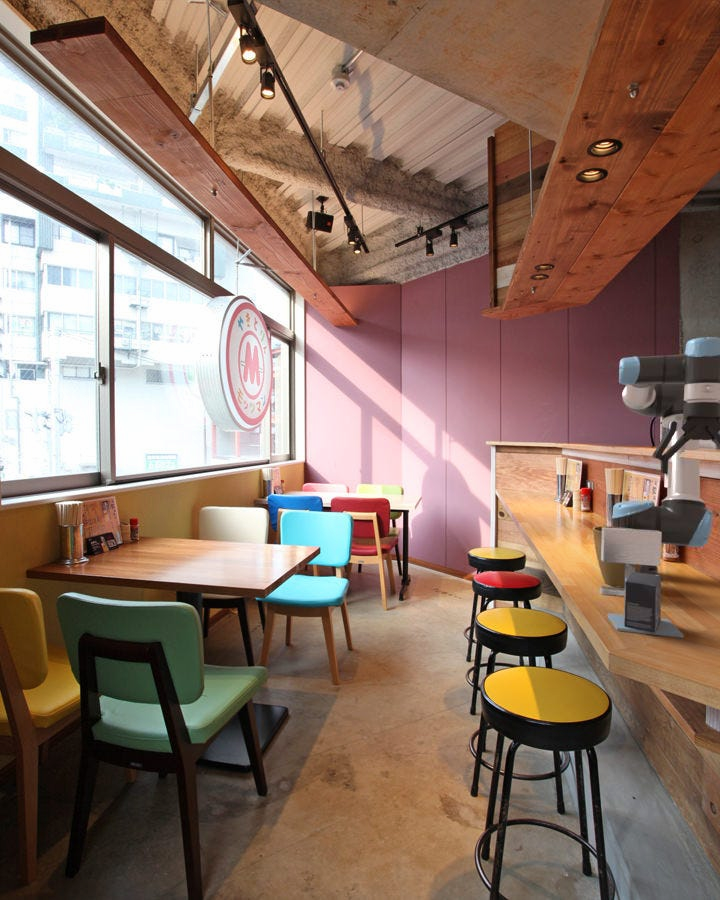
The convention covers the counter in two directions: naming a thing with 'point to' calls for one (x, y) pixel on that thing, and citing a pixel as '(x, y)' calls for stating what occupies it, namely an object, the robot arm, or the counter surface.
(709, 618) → the counter surface
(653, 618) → the small box
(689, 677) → the counter surface
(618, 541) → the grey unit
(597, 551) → the plant pot
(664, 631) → the mat
